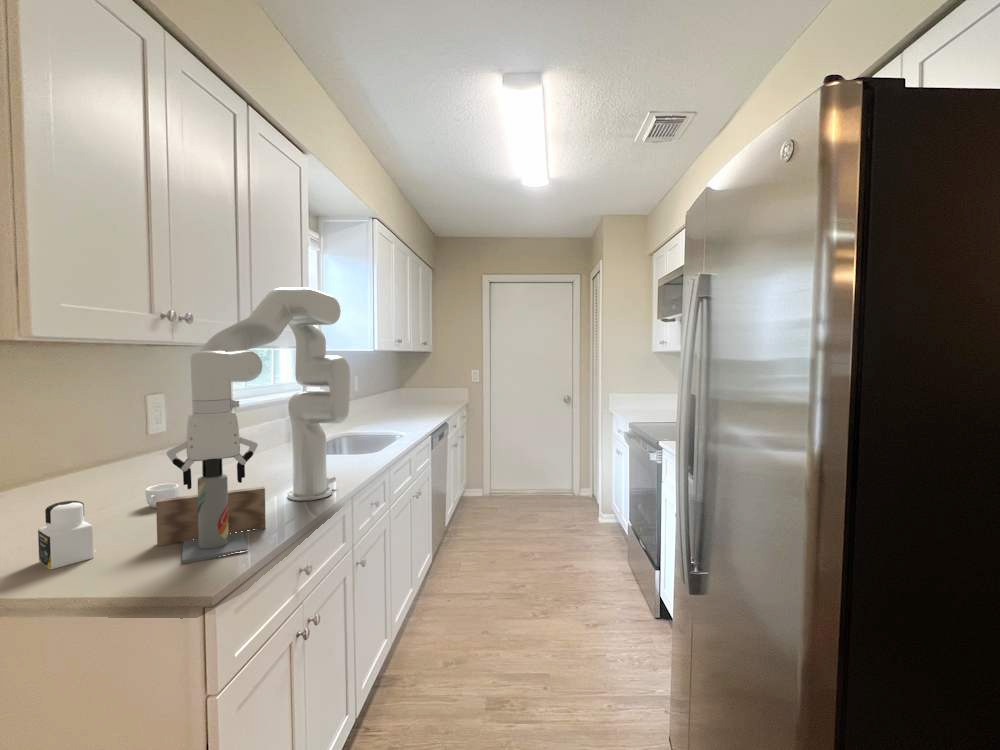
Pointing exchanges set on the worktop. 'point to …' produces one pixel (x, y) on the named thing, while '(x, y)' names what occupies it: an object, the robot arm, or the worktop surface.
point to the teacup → (161, 493)
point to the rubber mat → (198, 554)
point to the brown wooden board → (182, 515)
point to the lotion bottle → (212, 505)
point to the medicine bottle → (65, 535)
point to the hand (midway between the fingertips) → (215, 484)
